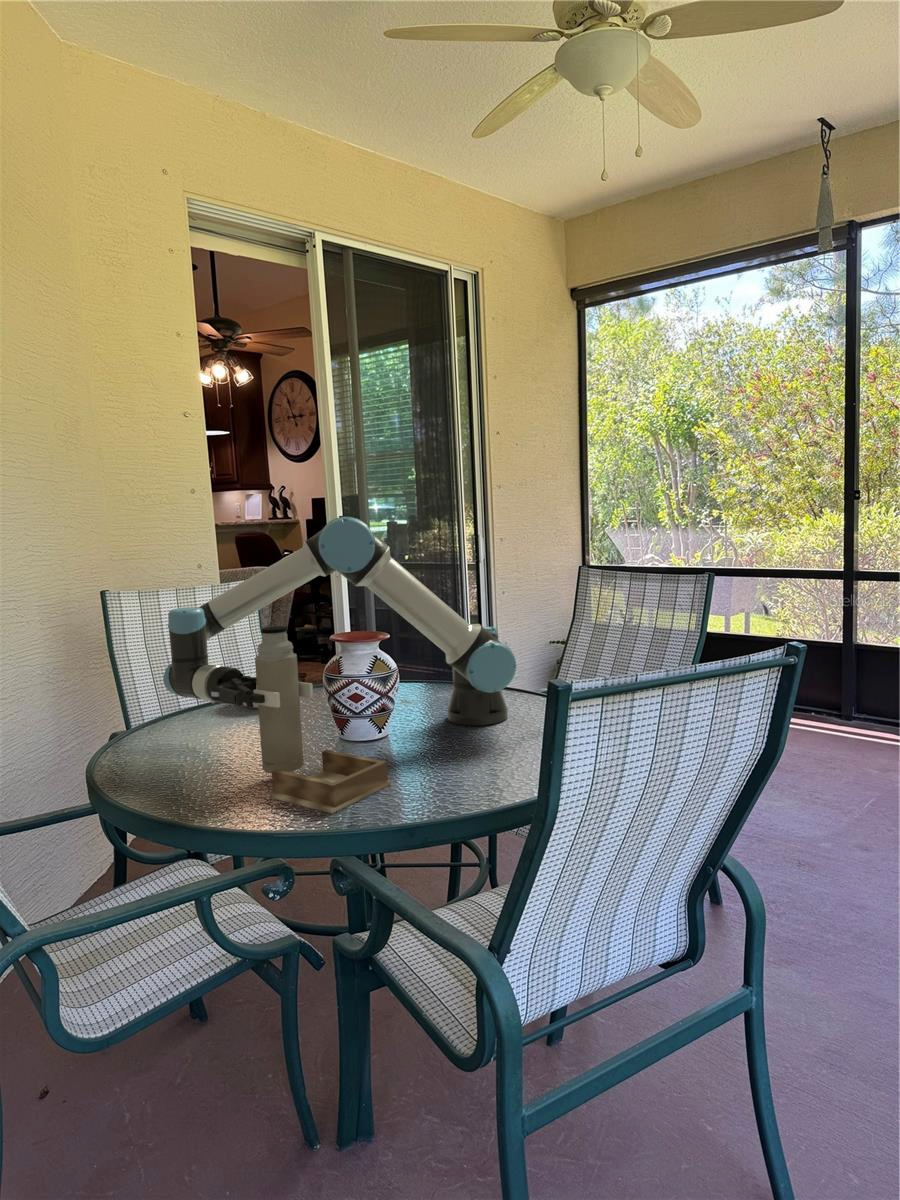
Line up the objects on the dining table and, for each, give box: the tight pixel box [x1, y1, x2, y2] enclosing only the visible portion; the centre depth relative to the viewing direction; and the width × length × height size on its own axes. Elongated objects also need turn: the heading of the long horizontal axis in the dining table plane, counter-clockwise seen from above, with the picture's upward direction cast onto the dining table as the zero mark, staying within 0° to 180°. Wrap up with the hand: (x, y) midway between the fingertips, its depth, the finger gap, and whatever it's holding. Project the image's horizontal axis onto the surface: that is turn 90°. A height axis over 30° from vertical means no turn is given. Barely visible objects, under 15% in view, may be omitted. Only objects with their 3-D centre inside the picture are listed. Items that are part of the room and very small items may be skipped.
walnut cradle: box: [269, 749, 391, 815], centre depth 141 cm, size 16×16×5 cm
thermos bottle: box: [254, 625, 305, 774], centre depth 147 cm, size 8×8×28 cm
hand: (295, 695), depth 144 cm, fingers closed on thermos bottle, 8 cm apart
